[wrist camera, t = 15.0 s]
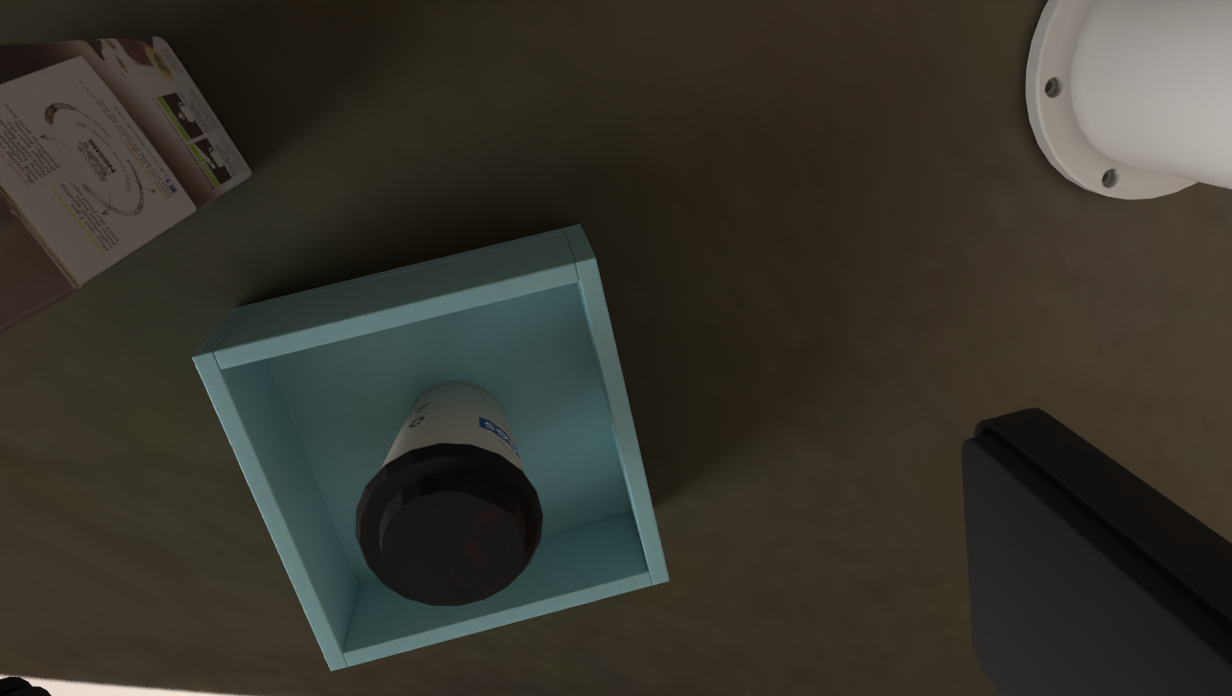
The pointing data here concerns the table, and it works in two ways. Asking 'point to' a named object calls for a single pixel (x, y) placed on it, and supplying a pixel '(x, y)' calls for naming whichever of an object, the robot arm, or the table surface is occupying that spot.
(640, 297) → the table surface
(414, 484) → the coffee cup
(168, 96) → the coffee box
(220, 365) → the open box
